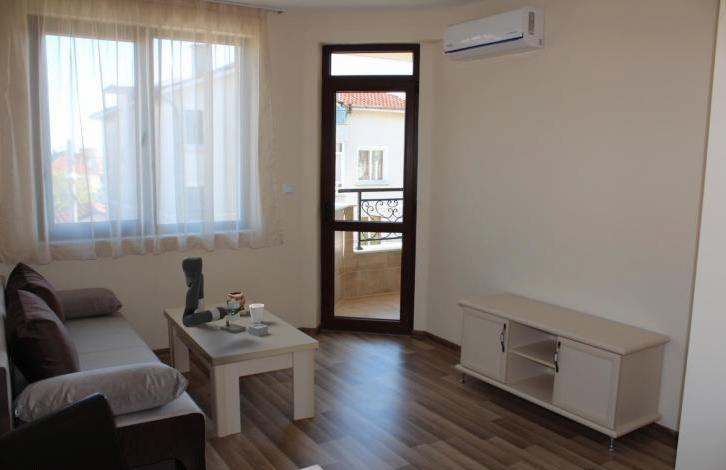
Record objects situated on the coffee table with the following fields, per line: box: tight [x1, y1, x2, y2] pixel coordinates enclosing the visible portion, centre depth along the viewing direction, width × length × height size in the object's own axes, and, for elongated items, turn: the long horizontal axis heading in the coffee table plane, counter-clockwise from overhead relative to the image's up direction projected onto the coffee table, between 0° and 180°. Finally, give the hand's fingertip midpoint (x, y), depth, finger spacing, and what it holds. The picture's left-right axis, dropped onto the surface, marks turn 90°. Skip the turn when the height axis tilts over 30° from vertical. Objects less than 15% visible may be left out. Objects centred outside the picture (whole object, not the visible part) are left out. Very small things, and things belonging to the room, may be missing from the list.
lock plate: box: [220, 323, 247, 334], centre depth 378 cm, size 13×9×2 cm
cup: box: [248, 303, 265, 324], centre depth 394 cm, size 10×10×11 cm
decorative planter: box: [225, 291, 246, 310], centre depth 417 cm, size 20×12×14 cm, turn 37°
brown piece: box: [225, 310, 247, 325], centre depth 381 cm, size 13×3×9 cm, turn 94°
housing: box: [248, 323, 269, 337], centre depth 370 cm, size 8×8×5 cm
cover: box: [228, 301, 241, 322], centre depth 362 cm, size 5×5×11 cm
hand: (237, 308), depth 364 cm, fingers closed on cover, 4 cm apart
